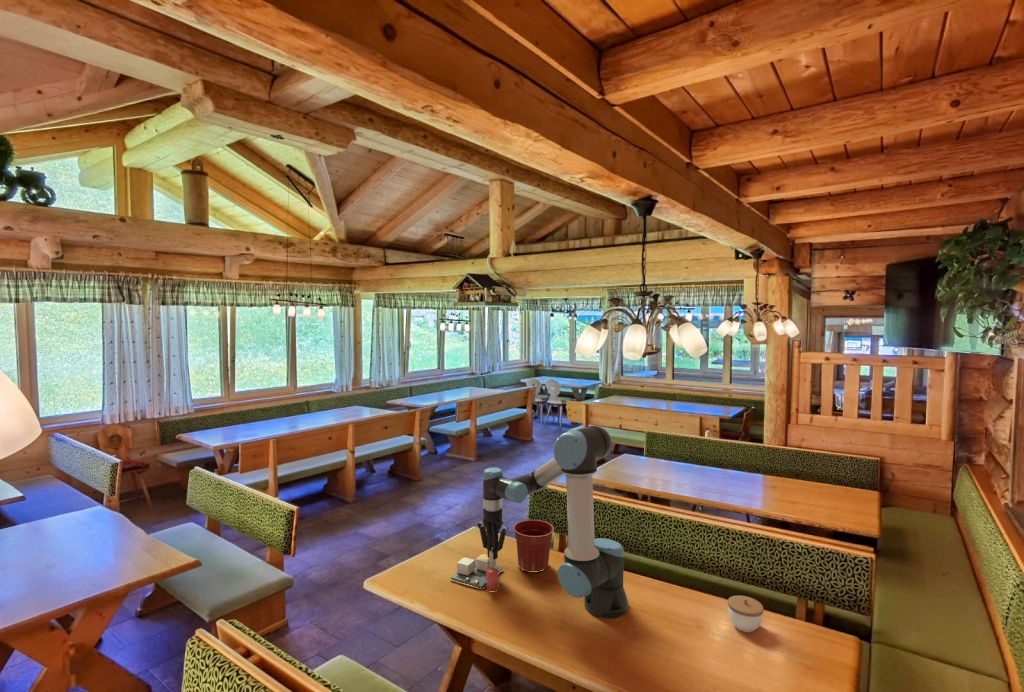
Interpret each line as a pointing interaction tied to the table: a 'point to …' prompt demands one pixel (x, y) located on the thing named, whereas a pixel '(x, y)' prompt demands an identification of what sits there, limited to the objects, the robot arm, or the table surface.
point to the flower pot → (533, 544)
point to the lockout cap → (492, 579)
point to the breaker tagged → (482, 562)
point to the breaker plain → (465, 566)
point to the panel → (474, 577)
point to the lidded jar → (745, 613)
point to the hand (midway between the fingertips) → (492, 566)
